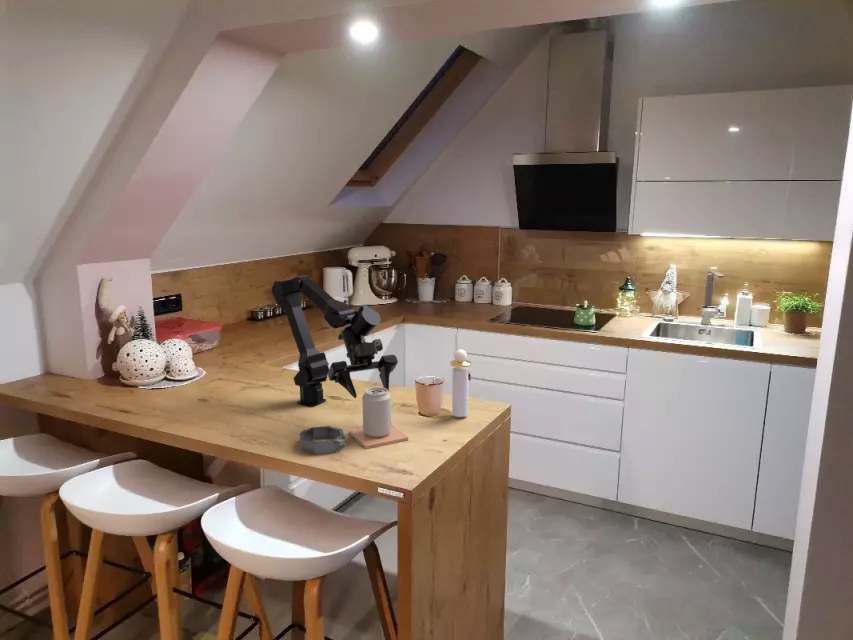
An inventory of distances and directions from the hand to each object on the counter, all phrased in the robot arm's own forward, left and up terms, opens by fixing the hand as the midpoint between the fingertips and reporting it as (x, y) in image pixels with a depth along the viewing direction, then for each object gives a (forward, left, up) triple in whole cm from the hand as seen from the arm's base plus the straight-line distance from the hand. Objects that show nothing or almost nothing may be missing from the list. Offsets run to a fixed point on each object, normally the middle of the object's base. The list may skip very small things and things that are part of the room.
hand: (371, 394), depth 172 cm
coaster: (+3, -2, -11) cm, 11 cm away
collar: (-6, -14, -11) cm, 18 cm away
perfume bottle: (+15, +22, -11) cm, 29 cm away
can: (+3, -2, -10) cm, 11 cm away
